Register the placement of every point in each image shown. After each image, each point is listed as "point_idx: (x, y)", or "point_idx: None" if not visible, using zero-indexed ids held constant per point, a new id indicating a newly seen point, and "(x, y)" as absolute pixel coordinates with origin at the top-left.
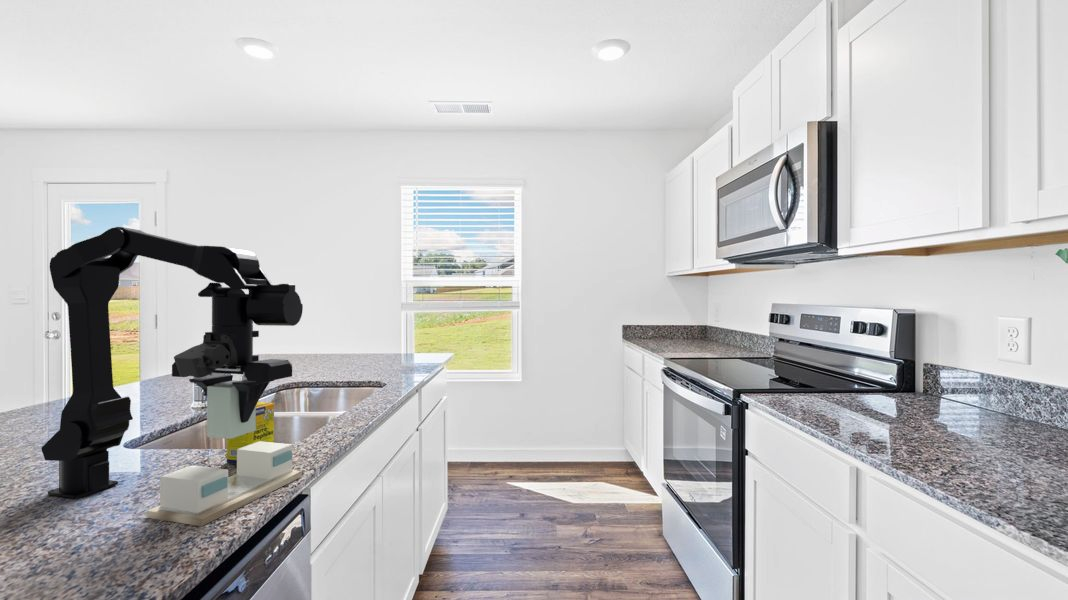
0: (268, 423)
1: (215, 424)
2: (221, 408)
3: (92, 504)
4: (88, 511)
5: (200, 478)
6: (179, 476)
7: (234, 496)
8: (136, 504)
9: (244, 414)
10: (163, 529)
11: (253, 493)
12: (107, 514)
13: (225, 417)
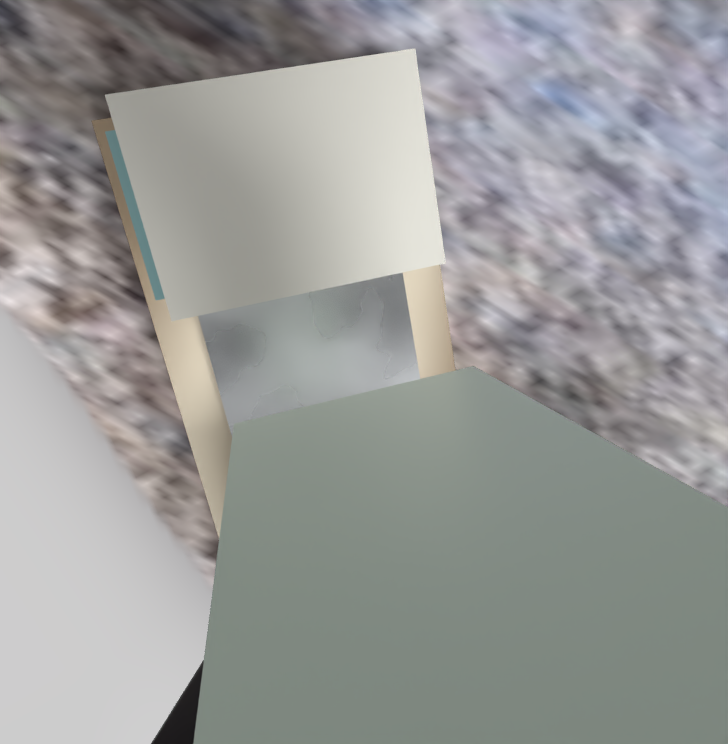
0: None
1: (421, 422)
2: (388, 543)
3: (720, 68)
4: (669, 17)
5: (153, 136)
6: (311, 101)
7: (204, 336)
8: (572, 146)
9: (195, 684)
10: (219, 34)
11: (186, 409)
12: (576, 31)
13: (295, 496)
